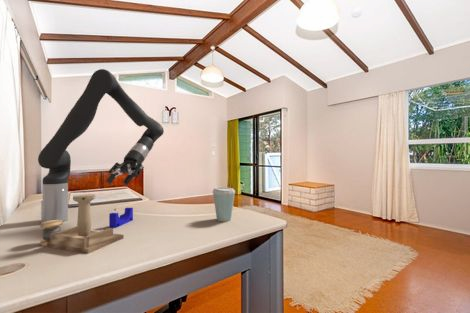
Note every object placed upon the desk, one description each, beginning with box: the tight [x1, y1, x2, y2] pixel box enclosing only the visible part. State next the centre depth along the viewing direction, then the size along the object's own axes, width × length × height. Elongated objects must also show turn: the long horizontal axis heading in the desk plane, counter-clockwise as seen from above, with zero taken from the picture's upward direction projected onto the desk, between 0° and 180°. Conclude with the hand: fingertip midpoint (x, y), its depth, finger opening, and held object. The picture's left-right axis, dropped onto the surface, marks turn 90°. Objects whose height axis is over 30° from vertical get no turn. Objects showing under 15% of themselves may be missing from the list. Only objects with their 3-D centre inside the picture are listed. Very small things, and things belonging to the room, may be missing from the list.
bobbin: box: [39, 220, 64, 247], centre depth 80 cm, size 6×6×7 cm
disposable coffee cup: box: [212, 186, 236, 222], centre depth 109 cm, size 11×11×15 cm
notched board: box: [45, 226, 125, 254], centre depth 80 cm, size 18×14×4 cm
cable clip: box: [108, 206, 134, 229], centre depth 103 cm, size 12×4×6 cm, turn 171°
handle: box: [72, 193, 96, 237], centre depth 79 cm, size 5×6×15 cm
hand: (116, 183), depth 95 cm, fingers open, 8 cm apart
